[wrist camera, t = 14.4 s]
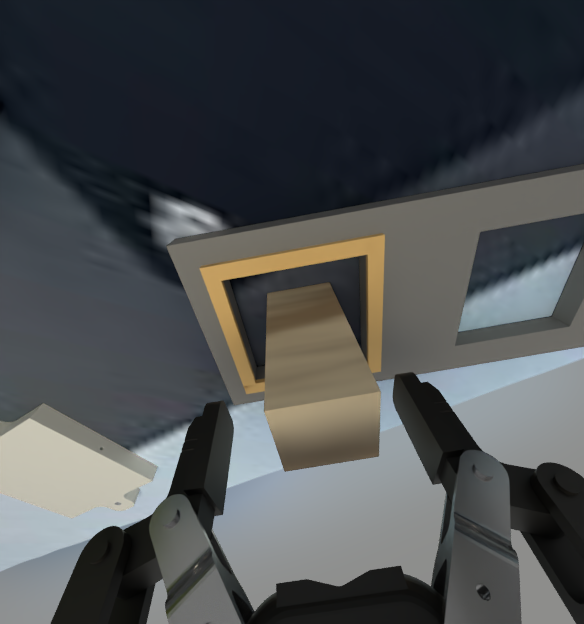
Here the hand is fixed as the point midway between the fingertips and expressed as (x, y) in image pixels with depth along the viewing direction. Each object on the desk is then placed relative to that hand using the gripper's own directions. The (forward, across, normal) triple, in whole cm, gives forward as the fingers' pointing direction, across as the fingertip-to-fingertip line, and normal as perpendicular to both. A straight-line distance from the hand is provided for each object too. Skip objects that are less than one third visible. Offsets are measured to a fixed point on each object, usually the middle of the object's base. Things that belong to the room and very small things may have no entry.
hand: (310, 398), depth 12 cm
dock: (+8, -8, 0) cm, 12 cm away
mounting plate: (+9, +26, +14) cm, 31 cm away
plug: (+8, 0, +1) cm, 8 cm away
